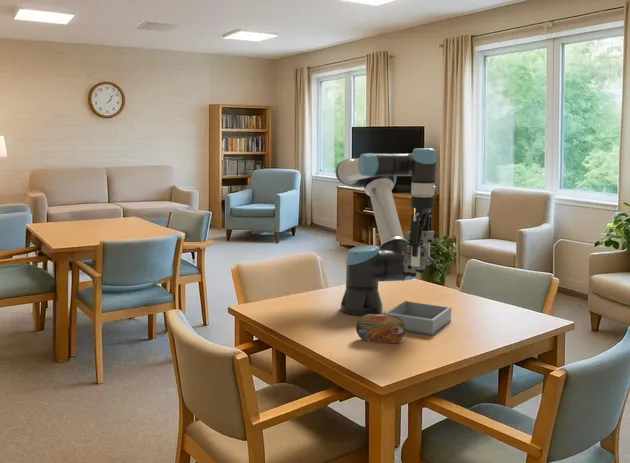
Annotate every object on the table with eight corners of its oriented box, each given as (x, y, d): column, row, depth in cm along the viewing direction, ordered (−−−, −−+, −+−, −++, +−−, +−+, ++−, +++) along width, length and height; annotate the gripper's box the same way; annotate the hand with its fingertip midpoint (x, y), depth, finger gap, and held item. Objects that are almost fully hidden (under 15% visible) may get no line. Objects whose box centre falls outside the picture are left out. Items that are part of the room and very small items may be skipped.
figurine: (432, 279, 203) (434, 233, 201) (398, 275, 209) (400, 230, 206) (440, 274, 211) (442, 230, 209) (408, 270, 216) (409, 227, 214)
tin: (355, 340, 195) (356, 314, 194) (357, 337, 198) (357, 311, 197) (404, 344, 191) (405, 318, 190) (405, 341, 194) (406, 315, 193)
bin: (384, 327, 208) (384, 312, 208) (405, 314, 224) (405, 300, 224) (432, 335, 200) (433, 320, 200) (450, 321, 216) (451, 307, 216)
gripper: (422, 199, 195) (419, 270, 198) (444, 194, 213) (441, 259, 217) (399, 197, 199) (397, 268, 202) (423, 193, 217) (420, 257, 220)
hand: (420, 263), depth 209 cm, fingers closed on figurine, 9 cm apart
